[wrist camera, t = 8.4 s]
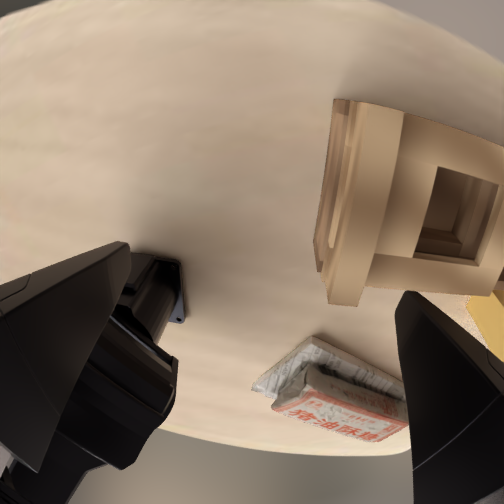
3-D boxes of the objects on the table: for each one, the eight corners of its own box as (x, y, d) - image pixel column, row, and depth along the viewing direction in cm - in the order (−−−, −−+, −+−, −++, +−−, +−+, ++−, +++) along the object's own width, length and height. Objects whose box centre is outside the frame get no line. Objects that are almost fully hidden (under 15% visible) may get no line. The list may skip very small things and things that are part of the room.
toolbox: (498, 266, 20) (519, 291, 17) (313, 241, 21) (317, 272, 18) (531, 161, 15) (561, 177, 12) (333, 99, 16) (345, 99, 13)
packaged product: (429, 418, 25) (365, 452, 30) (420, 386, 30) (362, 422, 34) (312, 371, 22) (245, 417, 27) (310, 329, 26) (251, 380, 31)
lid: (484, 290, 17) (501, 314, 15) (320, 274, 18) (324, 303, 15) (529, 159, 12) (556, 173, 10) (350, 100, 13) (363, 102, 10)
